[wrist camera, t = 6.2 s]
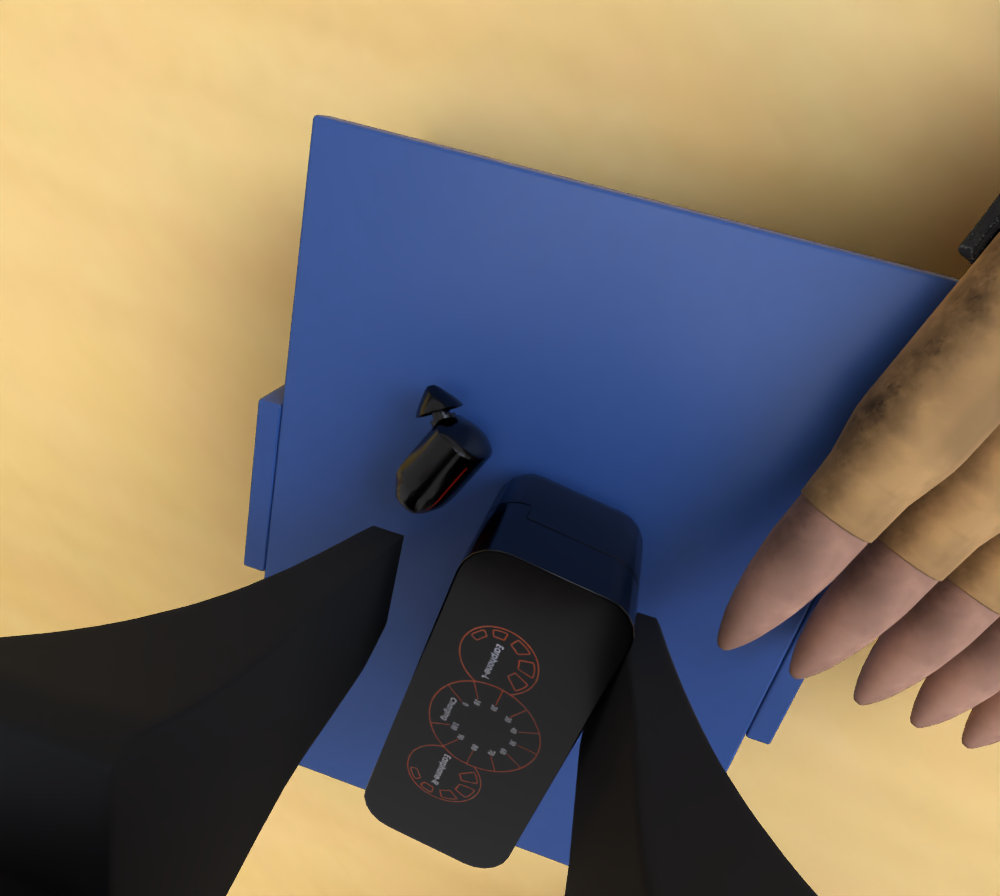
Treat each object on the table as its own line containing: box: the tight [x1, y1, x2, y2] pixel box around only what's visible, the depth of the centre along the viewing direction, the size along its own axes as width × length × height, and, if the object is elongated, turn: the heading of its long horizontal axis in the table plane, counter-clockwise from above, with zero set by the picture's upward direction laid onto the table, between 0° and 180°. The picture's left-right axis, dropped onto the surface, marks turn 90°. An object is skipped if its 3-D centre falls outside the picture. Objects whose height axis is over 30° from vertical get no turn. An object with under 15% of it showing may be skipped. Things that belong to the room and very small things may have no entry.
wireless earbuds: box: [364, 385, 643, 868], centre depth 13 cm, size 5×7×3 cm, turn 160°
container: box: [244, 115, 959, 866], centre depth 16 cm, size 15×12×5 cm
